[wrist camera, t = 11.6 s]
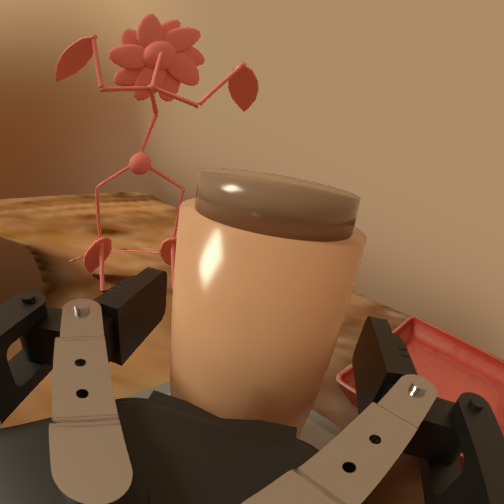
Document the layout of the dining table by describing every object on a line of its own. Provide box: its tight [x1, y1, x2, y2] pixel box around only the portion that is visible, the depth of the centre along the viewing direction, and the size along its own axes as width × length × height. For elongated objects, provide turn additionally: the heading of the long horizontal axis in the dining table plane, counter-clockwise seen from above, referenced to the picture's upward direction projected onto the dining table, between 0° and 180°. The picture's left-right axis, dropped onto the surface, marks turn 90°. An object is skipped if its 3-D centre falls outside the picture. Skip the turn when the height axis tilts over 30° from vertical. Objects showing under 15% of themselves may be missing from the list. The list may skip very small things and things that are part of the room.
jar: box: [170, 168, 366, 439], centre depth 10 cm, size 5×5×12 cm
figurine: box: [56, 14, 258, 291], centre depth 37 cm, size 15×26×35 cm, turn 115°
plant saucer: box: [336, 317, 504, 470], centre depth 23 cm, size 18×18×3 cm
